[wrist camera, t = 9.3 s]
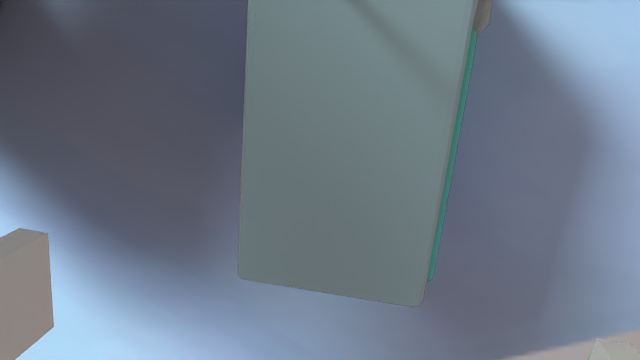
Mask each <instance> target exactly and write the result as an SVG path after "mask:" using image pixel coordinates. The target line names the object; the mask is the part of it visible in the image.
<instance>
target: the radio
mask: <svg viewBox="0 0 640 360" xmlns="http://www.w3.org/2000/svg"><path fill="white" fill-rule="evenodd" d="M491 7H492V0H248V16H247V41H246V66H245V91H244V116H243V141H242V166H241V191H240V216H239V241H238V276H239V277H240V278H242V279H245V280H250V281H256V282H262V283H268V284H274V285H280V286H286V287H293V288H299V289H305V290H311V291H317V292H323V293H330V294H336V295H342V296H348V297H354V298H360V299H367V300H373V301H379V302H385V303H391V304H397V305H404V306H412V307H418V306H420V305H421V303H422V300H423V296H424V291H425V286H426V281H430V280H431V279H432V277H433V274H434V269H435V264H436V259H437V254H438V249H439V244H440V239H441V233H442V227H443V221H444V216H445V210H446V205H447V199H448V194H449V189H450V183H451V178H452V172H453V167H454V162H455V156H456V151H457V145H458V140H459V135H460V129H461V124H462V118H463V113H464V108H465V102H466V97H467V91H468V86H469V81H470V75H471V70H472V64H473V59H474V53H475V47H476V37H477V36H478V35H479V34H480V33H481V32H482V31H483V30H484V29H485V28H486V27H487V26H488V25H489V22H490V14H491Z"/></svg>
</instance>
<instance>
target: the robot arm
mask: <svg viewBox="0 0 640 360" xmlns="http://www.w3.org/2000/svg"><path fill="white" fill-rule="evenodd" d="M53 327H54V322H53V307H52V291H51V275H50V260H49V244H48V233H43V232H38V231H32V230H27V229H22V228H19V229H17V230H15V231H13V232H11V233H9V234H7V235H5V236H3V237H1V238H0V360H15V359H16V358H17V357H19V356H20V355H21V354H22V353H23V352H25V351H26V350H27V349H28V348H29V347H30V346H32V345H33V344H34V343H35V342H36V341H38V340H39V339H40V338H41V337H42V336H43V335H45V334H46V333H47V332H48V331H49V330H51V329H52V328H53ZM588 360H640V353H639V352H638V351H637V349H636V348H635V347H634V346H633V345H632V344H626V343H621V342H616V341H611V340H606V339H600V338H596V340H595V342H594V345H593V348H592V351H591V353H590V356H589V359H588Z"/></svg>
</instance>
